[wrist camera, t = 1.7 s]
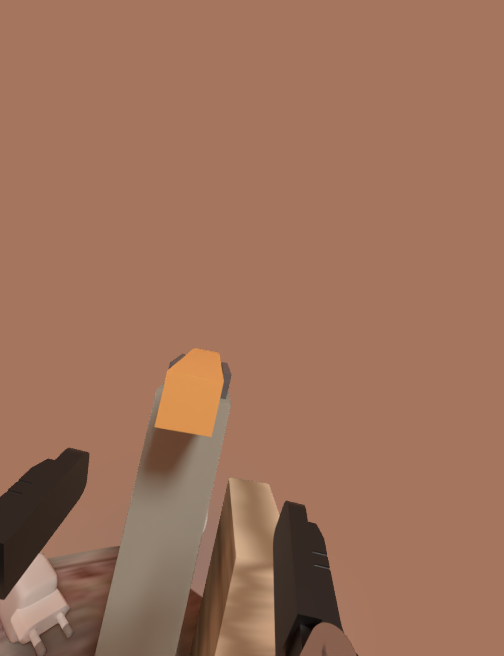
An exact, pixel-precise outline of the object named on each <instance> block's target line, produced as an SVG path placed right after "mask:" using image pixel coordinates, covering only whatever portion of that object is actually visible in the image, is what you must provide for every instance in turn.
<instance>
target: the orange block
mask: <svg viewBox="0 0 504 656" xmlns="http://www.w3.org/2000/svg"><path fill="white" fill-rule="evenodd" d="M223 383H224V379H223V373H222V367H221V360H220V354H219V353H216V352H211V351H207V350H202V349H197V348H194V349H193V350H191V351H190V352H189V353H188V354H187V355H185V356H184V357H183V358H182V359H181V360H179V361H178V362H177V363H176V364H175V365H173V366H172V367H171V368H170V369H168V370H167V375H166V379H165V383H164V388H163V392H162V396H161V401H160V405H159V409H158V414H157V418H156V422H155V427H156V428H162V429H168V430H174V431H179V432H185V433H191V434H197V435H203V436H208V437H212V432H213V428H214V424H215V419H216V415H217V410H218V406H219V401H220V397H221V392H222V388H223Z"/></svg>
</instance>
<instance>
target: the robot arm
mask: <svg viewBox="0 0 504 656" xmlns="http://www.w3.org/2000/svg"><path fill="white" fill-rule="evenodd" d="M88 463H89V453H88V452H85V451H81V450H77V449H73V448H67V449H66V450H65V451H64V452H63V453H62V454H61V455H60V456H59V457H58V458H57V459H56V460H52V459H46V460H45V461H43V462H41V463H39V464H37V465H36V466H34V467H32V468H31V469H30V470H29V471H28V472H27V473H25V474H24V475H23V476H22V477H21V478H20V479H19V481H18V482H16V483H15V484H14V485H13V486H12V487H11V488H9V489H8V491H7V492H6V493H4V494H3V495H2V496H1V497H0V599H1V600H5V598H6V597H7V596H8V594H9V593H10V592H11V590H12V589H13V588H14V586H15V585H16V584H17V582H18V581H19V579H20V578H21V577H22V575H23V574H24V573H25V571H26V570H27V569H28V567H29V566H30V565H31V563H32V562H33V561H34V559H35V558H36V557H37V555H38V554H39V553H40V551H41V550H42V549H43V547H44V546H45V545H46V543H47V542H48V540H49V539H50V537H51V536H52V535H53V534H54V532H55V531H56V530H57V528H58V527H59V526H60V524H61V523H62V522H63V520H64V519H65V518H66V516H67V515H68V513H69V512H70V511H71V510H72V508H73V507H74V505H75V504H76V503H77V501H78V500H79V499H80V497H81V495H82V493H83V491H84V489H85V486H86V482H87V474H88ZM329 567H330V566H329V561H328V557H327V552H326V546H325V541H324V538H323V536H322V534H321V532H320V530H319V528H318V527H317V525H316V524H315V523H311V522H308V520H307V513H306V508H305V506H304V505H302V504H298V503H294V502H289V501H286V502H285V503H284V506H283V508H282V512H281V514H280V516H279V519H278V522H277V525H276V528H275V531H274V537H273V576H274V620H275V656H358V655H357V654H356V653H355V650H354V648H353V646H352V644H351V642H350V641H349V639H348V638H347V636H346V635H345V634H344V632H343V629H342V626H341V622H340V617H339V612H338V607H337V601H336V596H335V591H334V586H333V581H332V577H331V571H330V570H329Z"/></svg>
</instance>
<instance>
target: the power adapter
mask: <svg viewBox="0 0 504 656" xmlns="http://www.w3.org/2000/svg"><path fill="white" fill-rule="evenodd" d="M57 584H58V580H57V574H56V572H55V570H54V568H53V567H52V565H51V564H50V562H49V561H48V559H47V558H46V556H45V555H44V554H43V553H39V554H38V555H37V557H36V558H35V559H34V561H33V562H32V563H31V565H30V566H29V567H28V569H27V570H26V571H25V573H24V574H23V575H22V577H21V578H20V579H19V581H18V582H17V584H16V585H15V586H14V588H13V589H12V590H11V592H10V593H9V594H8V596H7V597H6V598H5V600H1V599H0V621H1V624H2V626H3V628H4V631H5V633H6V636H7V638H8V640H9V642H12V643H16V642H18V641H19V642H20V643H21V644H23V645H24V644H26V643H28V642H30V641H31V642H32V644H33V646H34V649H35V651H36V654H37V656H44V655H45V653H46V648H45V646H44V644H43V642H42V641H41V639H40V637H39V635H41V634H42V633H44V632H45V631H47V630H48V629H50V628H51V627H53V626H54V625H56V624H58V623H59V624H60V626H61V628H62V631H63V632H64V634H65V636H66V638H70V637H71V636H72V635H73V629H72V627H71V625H70V624H69V623H68V621H67V619H66V618H65V616H66V615H67V613H68V612H69V610H70V607H69V605H68V604H67V602H66V600H65V599H64V597H63V595H62V594H61V592H60V591H59V590H58V589H57Z"/></svg>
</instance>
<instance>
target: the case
mask: <svg viewBox="0 0 504 656" xmlns="http://www.w3.org/2000/svg"><path fill="white" fill-rule="evenodd" d="M184 356H185V354H182V355H180V356H179V357H177V358H176V359H175V360H173V361H172V362H170V366H169V369H170V368H171V367H172V366H173V365H175V364H176V363H177V362H178V361H179V360H181V359H182V358H183V357H184ZM221 367H222V373H223V379H224V383H223V388H222V392H221V397H220V401H219V406H218V410H217V415H216V419H215V424H214V428H213V432H212V437H208V436H203V435H197V434H191V433H185V432H179V431H174V430H168V429H162V428H156V427H155V422H156V418H157V414H158V409H159V405H160V401H161V396H162V392H163V388H164V383H165V382H164V383H163V384H162V385H161V386H160V387H159V388H158V389H157V390H156V394H155V398H154V403H153V407H152V411H151V416H150V420H149V424H148V428H147V433H146V437H145V441H144V446H143V450H142V454H141V459H140V463H139V467H138V471H137V476H136V480H135V484H134V489H133V493H132V497H131V502H130V506H129V510H128V514H127V519H126V523H125V527H124V532H123V536H122V540H121V545H120V549H119V553H118V558H117V562H116V566H115V570H114V575H113V579H112V583H111V588H110V592H109V596H108V601H107V605H106V609H105V613H104V618H103V622H102V626H101V631H100V635H99V639H98V644H97V648H96V652H95V656H175V655H176V650H177V646H178V641H179V637H180V632H181V628H182V623H183V619H184V614H185V610H186V605H187V601H188V596H189V592H190V587H191V583H192V578H193V574H194V569H195V565H196V560H197V556H198V551H199V547H200V542H201V537H202V533H203V532H204V530H205V526H206V522H207V517H208V506H209V502H210V497H211V493H212V488H213V484H214V479H215V474H216V470H217V466H218V461H219V457H220V452H221V448H222V443H223V439H224V434H225V429H226V425H227V421H228V416H229V412H230V407H231V401H230V396H229V392H228V388H229V383H230V379H231V373H230V369H229V367H228V364H227V363H223V362H222V363H221Z"/></svg>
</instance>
